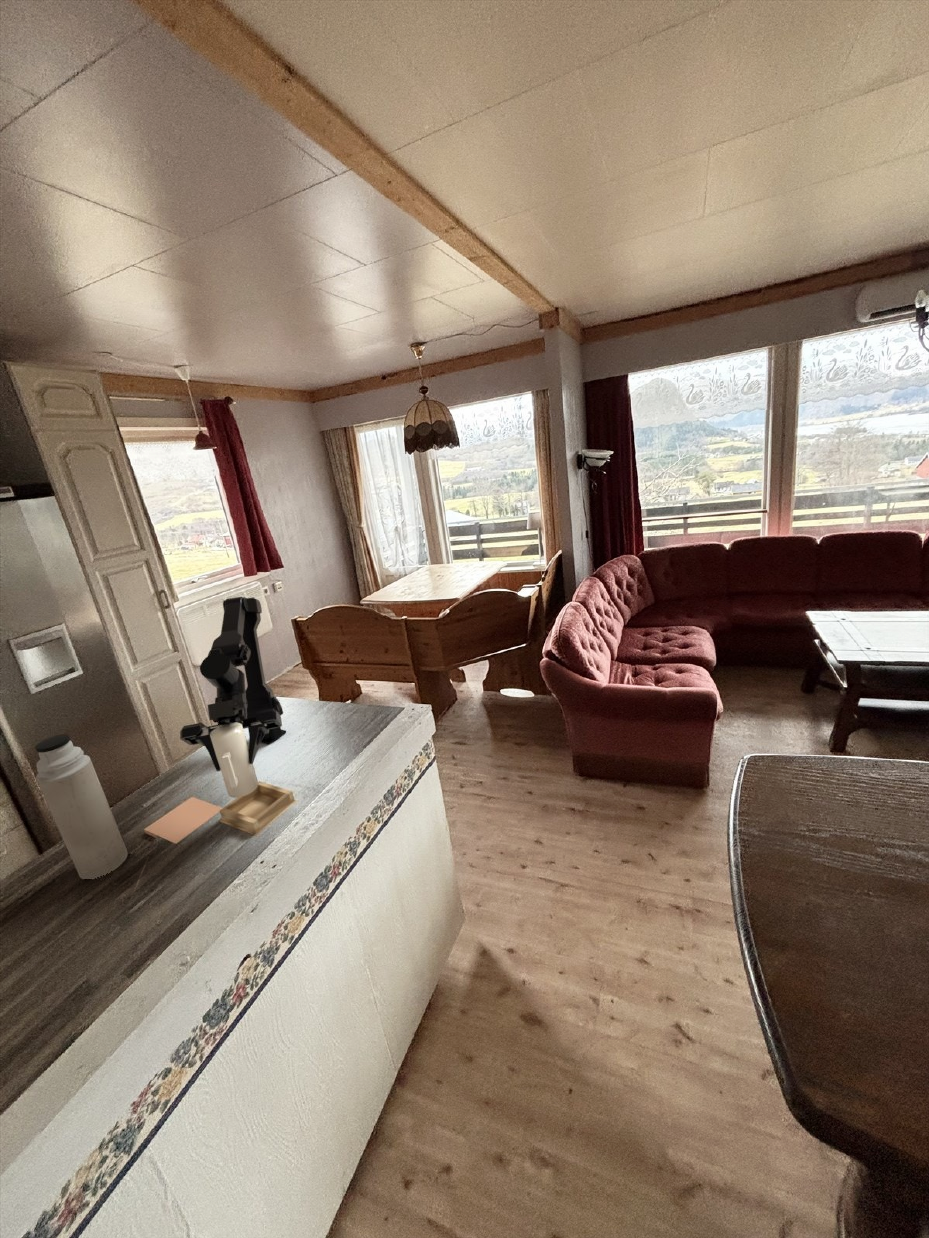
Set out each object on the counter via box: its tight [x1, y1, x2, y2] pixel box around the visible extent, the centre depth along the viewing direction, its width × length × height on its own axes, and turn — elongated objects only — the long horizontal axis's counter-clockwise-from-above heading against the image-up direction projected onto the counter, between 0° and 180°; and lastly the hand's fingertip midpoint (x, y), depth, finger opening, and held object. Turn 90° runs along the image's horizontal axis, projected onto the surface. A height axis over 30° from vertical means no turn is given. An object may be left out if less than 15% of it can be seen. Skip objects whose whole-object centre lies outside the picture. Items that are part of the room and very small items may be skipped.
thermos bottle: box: [35, 733, 128, 880], centre depth 93 cm, size 8×8×28 cm
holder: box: [219, 780, 298, 836], centre depth 106 cm, size 11×11×4 cm
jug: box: [210, 722, 259, 799], centre depth 101 cm, size 8×6×14 cm
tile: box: [144, 796, 224, 845], centre depth 106 cm, size 11×11×1 cm
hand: (234, 767), depth 101 cm, fingers closed on jug, 6 cm apart
